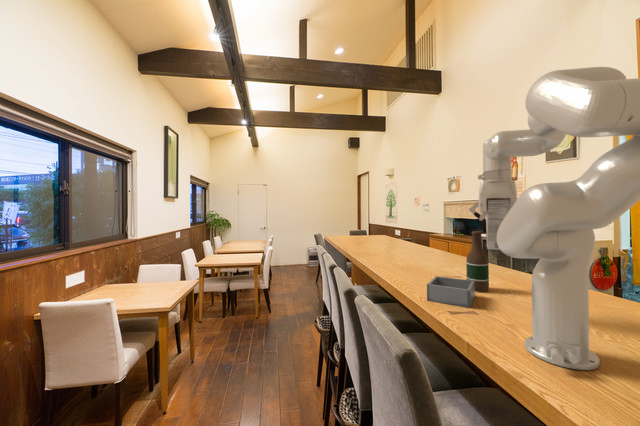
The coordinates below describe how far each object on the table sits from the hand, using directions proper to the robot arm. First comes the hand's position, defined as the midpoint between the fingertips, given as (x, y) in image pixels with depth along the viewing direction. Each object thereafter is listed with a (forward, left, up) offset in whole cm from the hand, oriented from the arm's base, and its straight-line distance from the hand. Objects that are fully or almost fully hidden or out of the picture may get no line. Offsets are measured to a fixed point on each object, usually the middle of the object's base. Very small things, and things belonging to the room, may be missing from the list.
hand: (497, 232), depth 84 cm
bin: (+5, +15, -26) cm, 30 cm away
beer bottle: (+22, +8, -26) cm, 35 cm away
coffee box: (0, 0, -5) cm, 5 cm away
